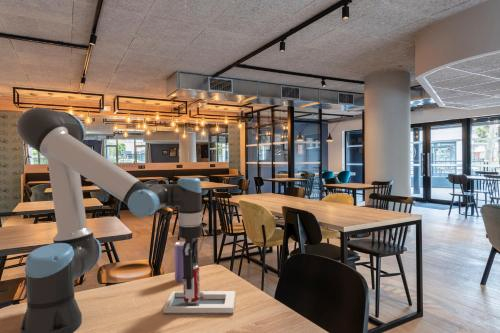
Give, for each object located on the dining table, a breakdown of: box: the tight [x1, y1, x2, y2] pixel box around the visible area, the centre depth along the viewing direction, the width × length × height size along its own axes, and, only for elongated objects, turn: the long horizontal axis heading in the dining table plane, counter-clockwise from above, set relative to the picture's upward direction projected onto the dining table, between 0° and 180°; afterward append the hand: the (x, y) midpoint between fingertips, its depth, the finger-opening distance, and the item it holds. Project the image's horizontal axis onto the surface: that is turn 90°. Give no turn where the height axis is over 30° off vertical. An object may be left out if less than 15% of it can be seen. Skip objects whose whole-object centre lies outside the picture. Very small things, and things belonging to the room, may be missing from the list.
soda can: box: [182, 263, 201, 304], centre depth 105 cm, size 5×5×12 cm
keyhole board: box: [162, 290, 236, 316], centre depth 105 cm, size 22×12×2 cm, turn 89°
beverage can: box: [173, 240, 185, 284], centre depth 126 cm, size 6×6×15 cm
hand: (191, 293), depth 105 cm, fingers closed on soda can, 5 cm apart
